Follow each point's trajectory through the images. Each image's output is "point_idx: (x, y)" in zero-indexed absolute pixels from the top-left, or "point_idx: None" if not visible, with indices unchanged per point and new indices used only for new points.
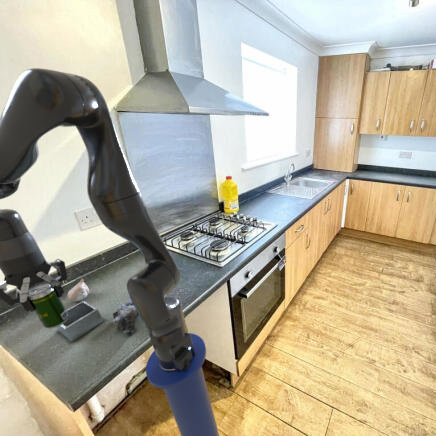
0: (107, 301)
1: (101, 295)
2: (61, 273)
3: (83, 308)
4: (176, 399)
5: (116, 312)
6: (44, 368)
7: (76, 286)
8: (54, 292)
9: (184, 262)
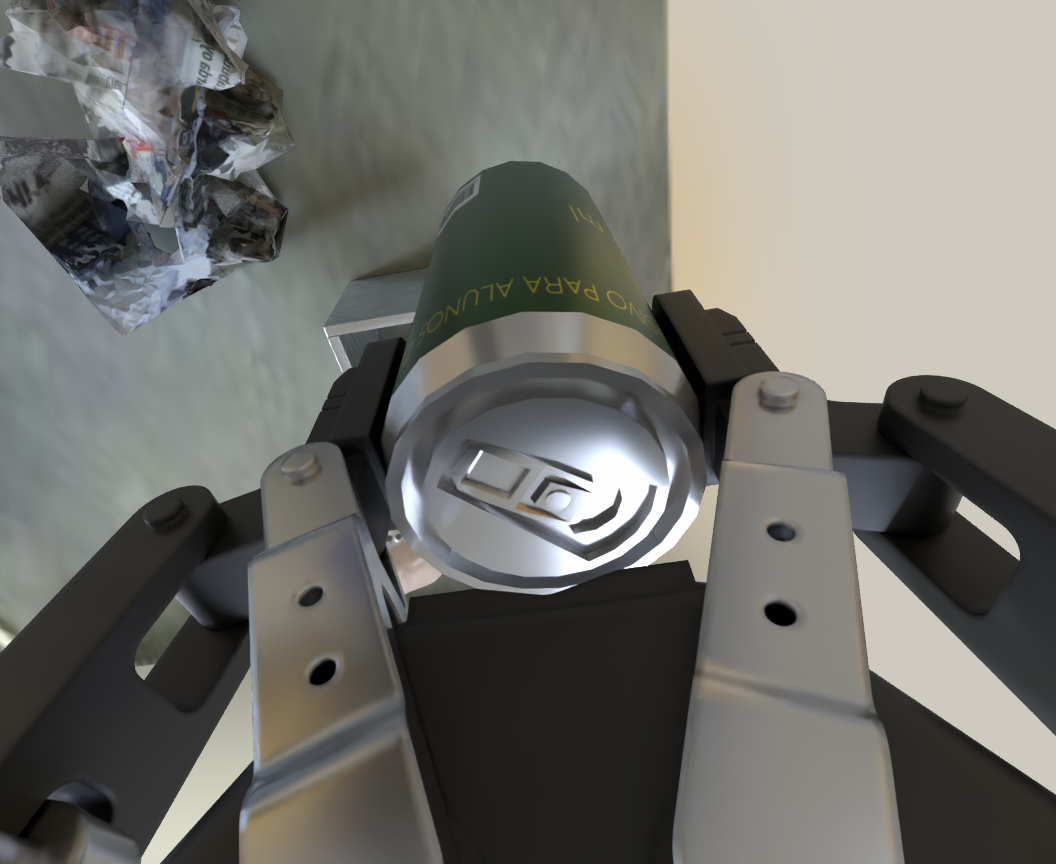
0: (312, 423)
1: None
2: (95, 631)
3: None
4: None
5: (251, 251)
6: (643, 169)
7: None
8: (403, 364)
9: None
